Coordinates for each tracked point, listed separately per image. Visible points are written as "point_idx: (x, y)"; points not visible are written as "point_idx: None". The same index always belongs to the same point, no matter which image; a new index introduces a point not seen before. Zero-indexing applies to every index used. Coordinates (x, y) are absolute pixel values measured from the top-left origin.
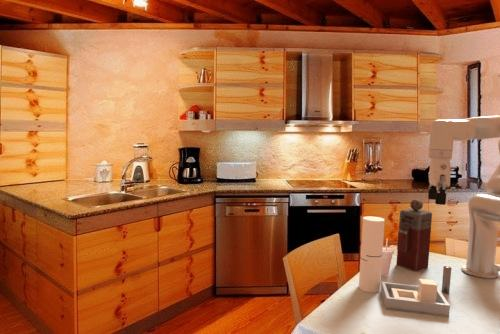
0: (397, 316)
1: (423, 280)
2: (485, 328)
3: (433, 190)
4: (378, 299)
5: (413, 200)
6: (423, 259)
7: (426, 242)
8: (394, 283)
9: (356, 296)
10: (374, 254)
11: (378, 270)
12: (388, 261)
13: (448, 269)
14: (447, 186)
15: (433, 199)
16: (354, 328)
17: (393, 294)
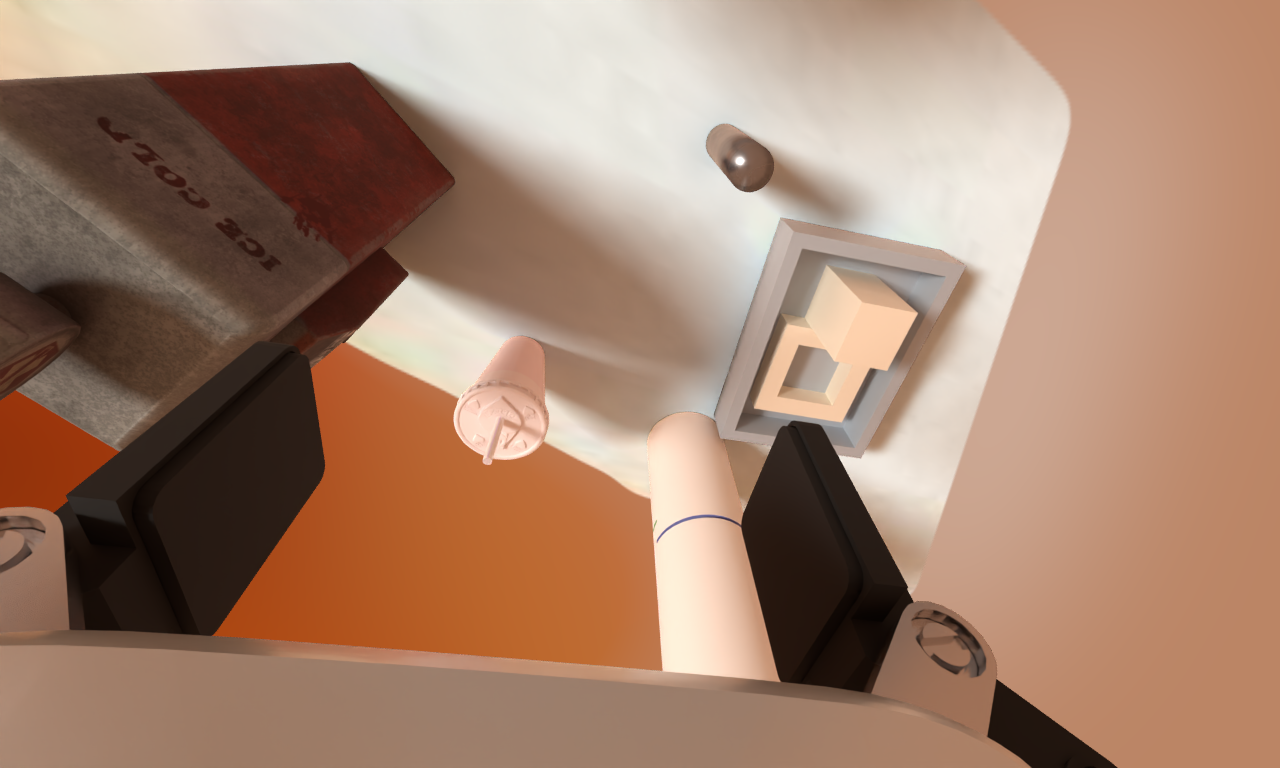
0: (898, 416)
1: (856, 351)
2: (1057, 147)
3: (206, 566)
4: None
5: None
6: (377, 128)
7: (298, 123)
8: (738, 398)
9: (751, 490)
10: None
11: (735, 485)
12: (542, 384)
13: (771, 172)
14: (828, 716)
15: (308, 406)
16: (932, 526)
17: (809, 416)
